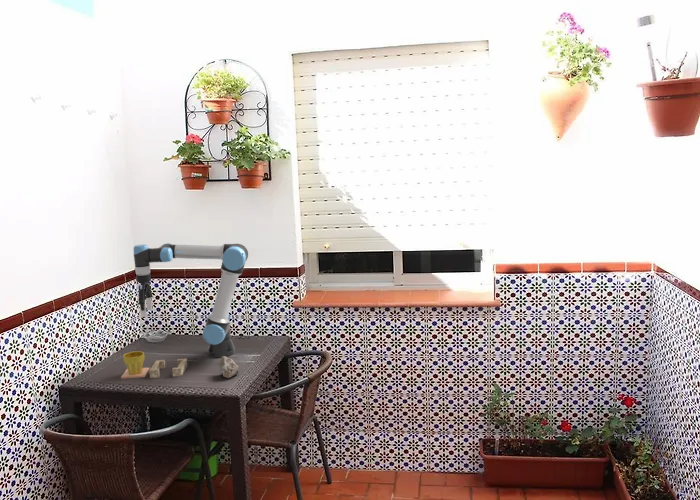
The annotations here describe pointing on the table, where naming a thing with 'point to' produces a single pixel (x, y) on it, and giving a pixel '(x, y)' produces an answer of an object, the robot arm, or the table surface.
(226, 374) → the rock
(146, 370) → the tile
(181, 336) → the table surface
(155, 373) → the flower pot holder
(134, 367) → the plant pot
